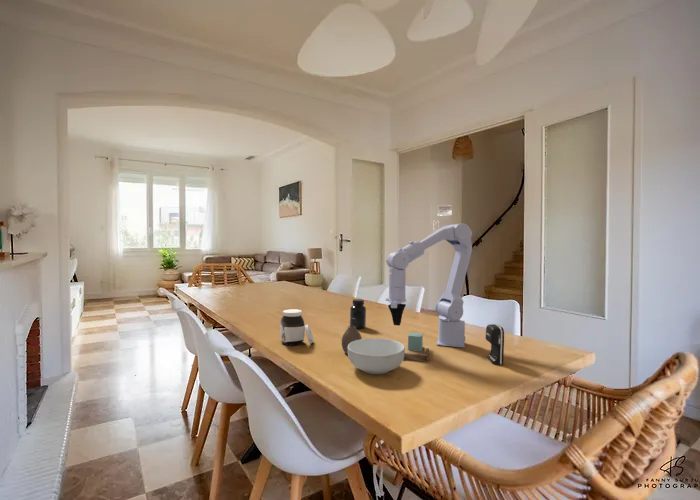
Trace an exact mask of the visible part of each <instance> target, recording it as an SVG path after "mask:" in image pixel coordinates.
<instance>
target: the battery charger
mask: <svg viewBox="0 0 700 500" xmlns="http://www.w3.org/2000/svg"><path fill="white" fill-rule="evenodd" d="M485 340H486V341H487V342H488V343H490V352H489V354H488V356H487V359H488V360H489V361H490V362H491V364H493V365H504V355H505V353H504V351H505V330H504V328H503V327H502V326H501V325H499V324H496V323H495V324H493V323H491V324H487V325H486V329H485Z"/></svg>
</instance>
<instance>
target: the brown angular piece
mask: <svg viewBox="0 0 700 500" xmlns="http://www.w3.org/2000/svg"><path fill="white" fill-rule="evenodd" d="M429 355H430V348H427V347H425V351H424V353H420V354H419V353H414V352H413V353H412V352H405V353H404V359H403V360H408V361H418V362H419V361H420V362H428V361H429V357H430V356H429Z"/></svg>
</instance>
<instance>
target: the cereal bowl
mask: <svg viewBox="0 0 700 500" xmlns="http://www.w3.org/2000/svg"><path fill="white" fill-rule="evenodd" d="M347 348H348V350H347V351H348V354H347V356H348V360H349V362H350V363H351V364H352V365H353V366H354V367H356V368H357V369H359V370H361V371H363V372H365V373H367V374H371V375H383V374H387V373H389V371H392V370H395V369H396V368H398V367H400V365H401V364H402V363H403V361H404V360H405V359H404V353H406V350H405V345H404V344H403V343H402V342H399V341H397V340H394V339H389V338H381V337H379V338H377V337H374V338H373V337H371V338H362V339H360V340H356V341H353V342H351V343H349V344H348V347H347Z"/></svg>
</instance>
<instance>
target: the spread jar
mask: <svg viewBox="0 0 700 500" xmlns="http://www.w3.org/2000/svg"><path fill="white" fill-rule="evenodd" d="M302 314H303V311H302V310H301V309H296V308H294V309H293V308H292V309H284V310H283V311H282V317H281V318H280V323H279V327H280V328H279V329H280V331H279V334H280V336H279V337H280V341H281V343H282V344H283V345H285V346H298V345H301V344H302V343H304V341H305V334H306V338H307V341H308V343H309V344H314V343H315V340H314V335H313V332H312V329H311V327H310V325H309V324H305V320H304V318H303V316H302Z"/></svg>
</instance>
